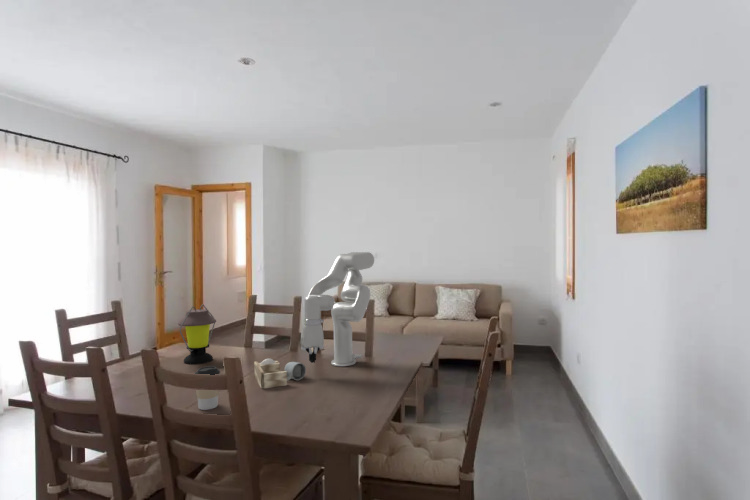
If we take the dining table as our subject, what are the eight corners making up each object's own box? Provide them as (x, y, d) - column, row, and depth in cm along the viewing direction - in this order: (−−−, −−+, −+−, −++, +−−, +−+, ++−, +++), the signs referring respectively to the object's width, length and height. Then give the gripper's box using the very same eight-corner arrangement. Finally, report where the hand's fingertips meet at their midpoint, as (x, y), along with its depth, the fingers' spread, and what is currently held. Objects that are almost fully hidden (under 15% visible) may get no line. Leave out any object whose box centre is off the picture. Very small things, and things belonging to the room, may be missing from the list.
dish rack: (278, 373, 213) (277, 358, 212) (286, 385, 194) (286, 369, 194) (254, 376, 208) (254, 361, 208) (261, 388, 190) (261, 372, 190)
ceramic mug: (296, 374, 210) (295, 358, 210) (306, 378, 204) (305, 361, 204) (276, 380, 202) (276, 363, 202) (287, 384, 196) (286, 366, 196)
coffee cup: (191, 406, 170) (190, 367, 170) (214, 400, 176) (213, 363, 176) (201, 412, 164) (200, 372, 164) (224, 406, 170) (223, 367, 170)
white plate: (276, 374, 210) (276, 357, 210) (277, 375, 209) (276, 358, 209) (259, 376, 207) (259, 359, 207) (259, 377, 206) (259, 360, 206)
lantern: (212, 353, 255) (211, 301, 255) (228, 358, 242) (227, 304, 241) (168, 362, 237) (166, 306, 237) (183, 368, 224) (182, 309, 223)
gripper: (325, 320, 213) (325, 359, 213) (294, 322, 207) (294, 361, 207) (330, 322, 206) (330, 362, 206) (298, 324, 200) (298, 365, 200)
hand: (312, 362), depth 206 cm, fingers closed
